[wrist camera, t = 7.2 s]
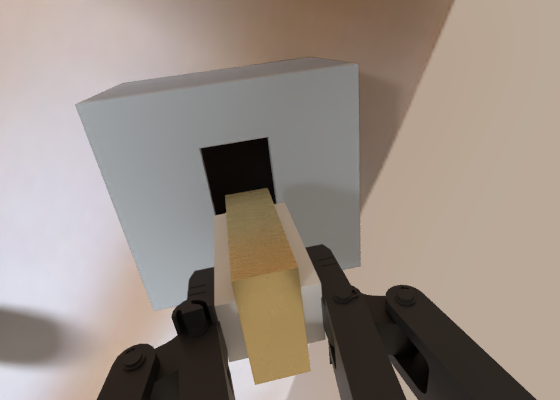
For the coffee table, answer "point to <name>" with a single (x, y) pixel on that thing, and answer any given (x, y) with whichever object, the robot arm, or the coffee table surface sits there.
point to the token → (266, 287)
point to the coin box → (217, 131)
